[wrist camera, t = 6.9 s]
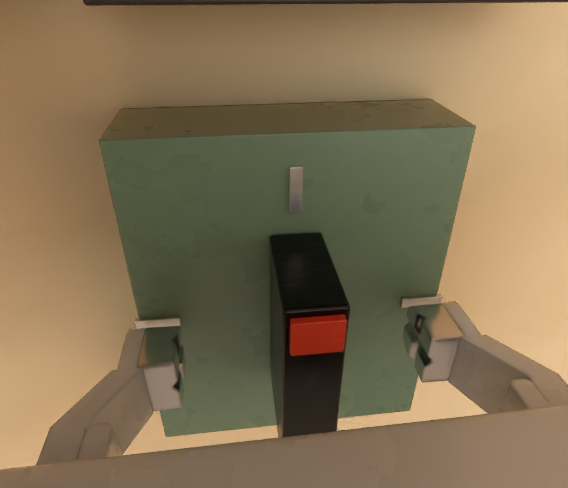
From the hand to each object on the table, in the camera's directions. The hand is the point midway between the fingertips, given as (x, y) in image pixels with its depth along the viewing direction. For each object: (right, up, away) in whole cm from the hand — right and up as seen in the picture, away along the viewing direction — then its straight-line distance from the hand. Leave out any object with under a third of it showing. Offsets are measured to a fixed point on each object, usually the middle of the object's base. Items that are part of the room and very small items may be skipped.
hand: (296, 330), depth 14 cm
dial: (0, +1, +1) cm, 1 cm away
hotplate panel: (0, +2, +3) cm, 4 cm away
